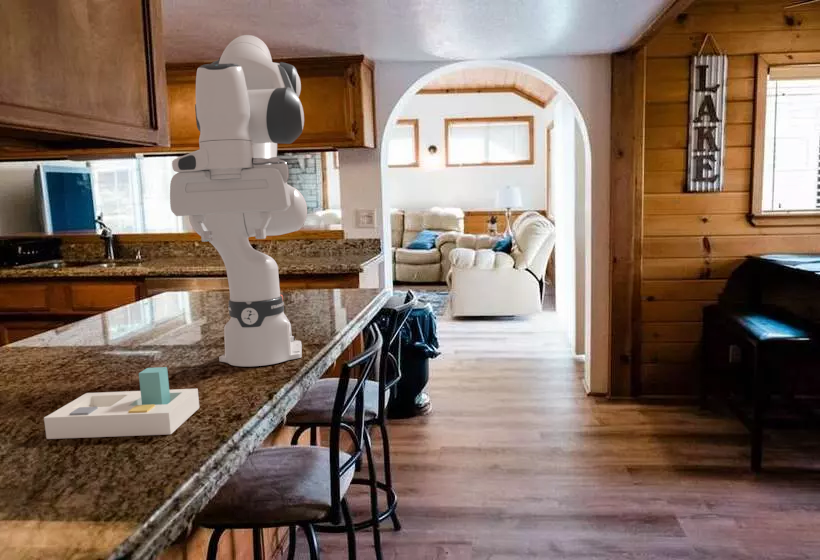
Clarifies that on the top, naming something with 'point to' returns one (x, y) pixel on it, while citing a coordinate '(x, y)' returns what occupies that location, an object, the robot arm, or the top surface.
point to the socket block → (120, 415)
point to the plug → (154, 386)
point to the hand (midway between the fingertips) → (234, 240)
